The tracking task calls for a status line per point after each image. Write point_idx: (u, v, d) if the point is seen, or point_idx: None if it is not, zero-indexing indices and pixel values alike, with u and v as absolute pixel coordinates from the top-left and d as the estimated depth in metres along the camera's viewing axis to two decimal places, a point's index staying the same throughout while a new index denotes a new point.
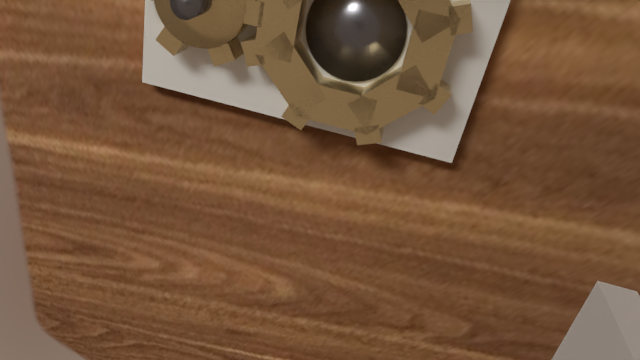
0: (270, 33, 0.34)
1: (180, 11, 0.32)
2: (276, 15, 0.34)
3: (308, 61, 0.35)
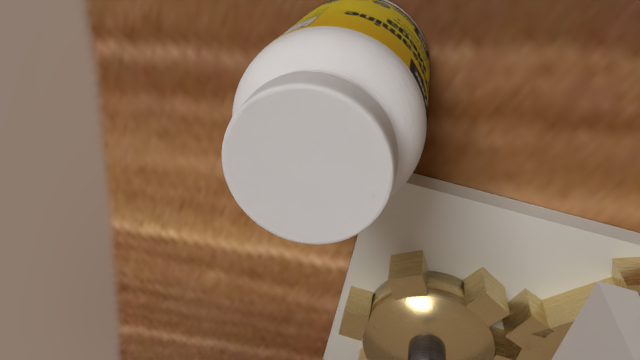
0: None
1: None
2: None
3: None
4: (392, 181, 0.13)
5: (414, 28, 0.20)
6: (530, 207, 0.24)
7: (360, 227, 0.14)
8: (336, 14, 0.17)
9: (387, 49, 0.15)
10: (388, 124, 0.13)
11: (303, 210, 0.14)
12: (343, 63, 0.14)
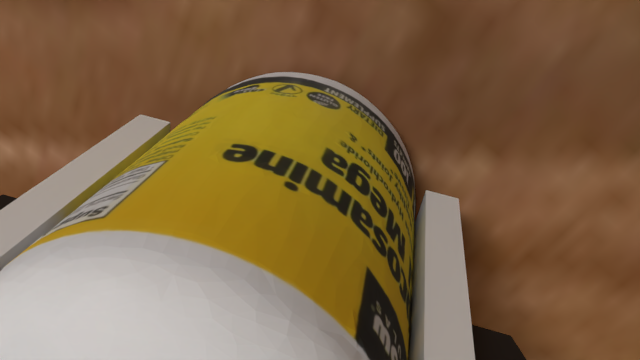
0: None
1: None
2: None
3: None
4: None
5: (386, 141, 0.11)
6: None
7: None
8: (201, 161, 0.08)
9: (294, 301, 0.06)
10: None
11: None
12: None
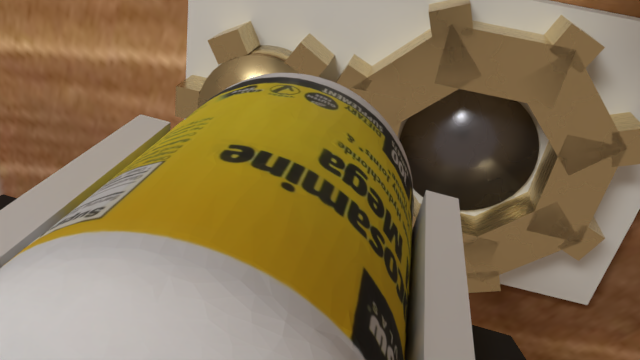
0: None
1: None
2: None
3: None
4: None
5: (383, 142, 0.11)
6: None
7: None
8: (198, 162, 0.08)
9: (290, 301, 0.06)
10: None
11: None
12: None
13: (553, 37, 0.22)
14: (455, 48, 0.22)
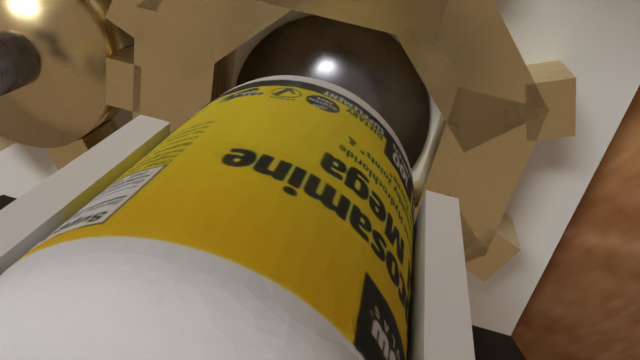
0: None
1: None
2: (166, 92, 0.17)
3: None
4: None
5: (385, 145, 0.11)
6: None
7: None
8: (200, 166, 0.08)
9: (293, 307, 0.06)
10: None
11: None
12: None
13: None
14: None
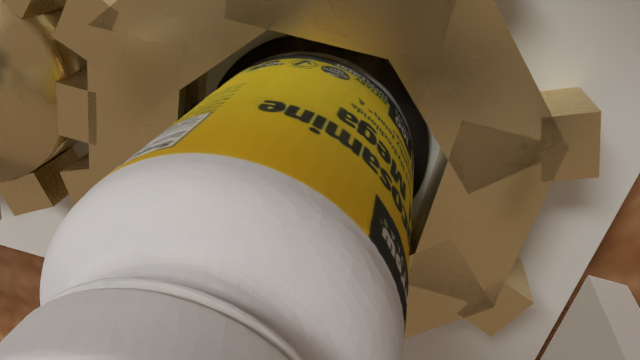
0: (119, 158, 0.15)
1: None
2: (126, 121, 0.14)
3: None
4: None
5: (388, 109, 0.13)
6: None
7: None
8: (241, 111, 0.09)
9: (323, 203, 0.07)
10: None
11: None
12: (225, 245, 0.07)
13: None
14: None
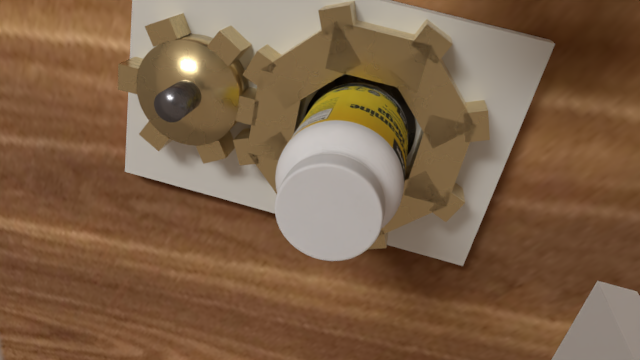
0: (265, 132, 0.31)
1: (165, 113, 0.29)
2: (272, 114, 0.30)
3: None
4: (381, 222, 0.22)
5: (397, 109, 0.29)
6: None
7: (361, 250, 0.22)
8: (344, 107, 0.25)
9: (378, 136, 0.23)
10: (379, 186, 0.22)
11: (325, 239, 0.22)
12: (351, 146, 0.23)
13: (416, 35, 0.28)
14: (340, 40, 0.28)
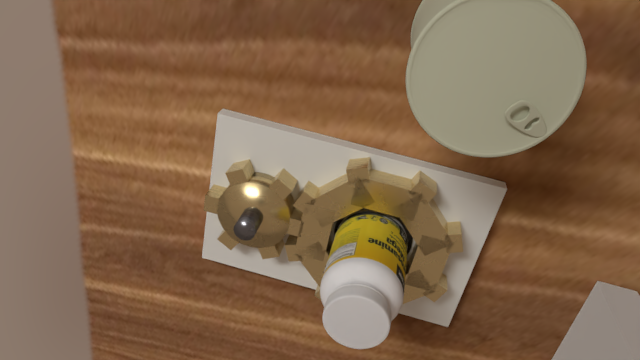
0: (308, 241, 0.44)
1: (241, 234, 0.42)
2: (312, 230, 0.44)
3: None
4: (389, 328, 0.35)
5: (399, 231, 0.42)
6: (306, 132, 0.43)
7: (376, 343, 0.36)
8: (364, 242, 0.39)
9: (387, 268, 0.37)
10: (387, 306, 0.35)
11: (354, 336, 0.36)
12: (369, 277, 0.36)
13: (412, 184, 0.41)
14: (360, 188, 0.41)
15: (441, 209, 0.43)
